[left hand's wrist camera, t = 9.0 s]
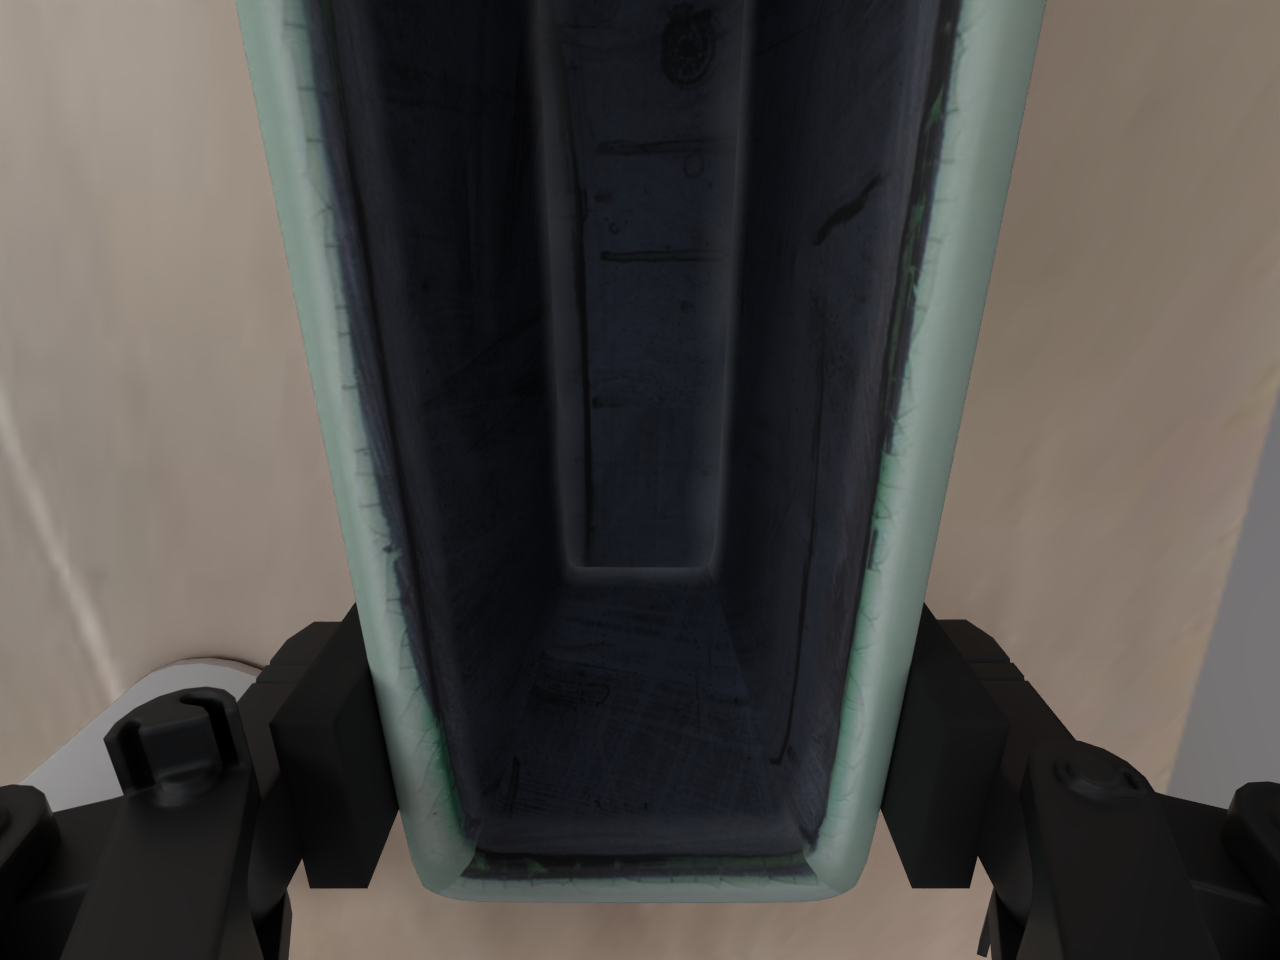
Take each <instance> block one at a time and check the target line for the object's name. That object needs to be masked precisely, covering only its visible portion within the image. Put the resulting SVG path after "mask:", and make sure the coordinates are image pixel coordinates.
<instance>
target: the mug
mask: <svg viewBox="0 0 1280 960" xmlns="http://www.w3.org/2000/svg"><path fill="white" fill-rule="evenodd" d="M261 672H262V670H260V669H257V668H254V667H251V666H248V665H245V664H243V663H240V662H237V661H230V660H223V659H216V658H199V659H186V660H180V661H177V662H174V663H171V664H168V665H165V666H162V667H159V668H156V669H155V670H153V671H152V672H150V673H149V674H147V675H146V676H145V677H143V678H142V679H140V680H139V681H138V682H137V683H136V684H135V685H134V686H132V687H131V688H130V689H129V690H128V691H126V692H125V693H124V694H123V695H122V696H121V697H119V698H118V699H117V700H116V701H115V702H114V703H112V704H111V705H110V706H109V707H108V708H107V709H105V710H104V711H103V712H102V713H101V714H100V715H98V716H97V717H96V718H95V719H94V720H93V721H91V722H90V723H89V724H88V725H87V726H86V727H84V728H83V729H82V730H81V731H80V732H79V733H77V734H76V735H75V736H74V737H73V738H72V739H70V740H69V741H68V742H67V743H66V744H65V745H64V746H62V747H61V748H60V749H59V750H58V751H57V752H55V753H54V754H53V755H52V756H51V757H50V758H48V759H47V760H46V761H45V762H44V763H43V764H41V765H40V766H39V767H38V768H37V769H36V770H34V771H33V772H32V773H31V774H30V775H29V776H27V777H26V778H25V779H24V780H23V781H22V782H20V783H19V784H18V785H30V786H34V787H35V788H37V789H38V790H40V791H42V792H43V793H44V794H45V796H46V798H47V801H48V803H49V805H50V808H51V810H52V812H57V811H61V810H65V809H70V808H74V807H78V806H83V805H87V804H91V803H95V802H100V801H104V800H108V799H113V798H116V797H119V796H123V792H122V789H121V786H120V784H119V781H118V778H117V776H116V773H115V770H114V767H113V765H112V762H111V759H110V757H109V754H108V751H107V748H106V746H105V743H104V740H103V738H104V737H105V736H106V734H107V733H108V732H109V730H110V729H111V728H112V726H113V725H114V724H115V723H116V722H117V721H118V720H120V719H121V718H122V717H124V716H125V715H126V714H128V713H129V712H130V711H132V710H133V709H134V708H136V707H138V706H140V705H142V704H144V703H146V702H148V701H150V700H152V699H154V698H156V697H158V696H161V695H165V694H168V693H171V692H175V691H178V690H182V689H187V688H196V687H206V686H207V687H213V688H219V689H225V690H226V691H227V692H229V693H230V694H231V695H233V696H234V697H235V698H236V702H237V701H238V700H239V699H240V698H241V697H242V695H243V694H244V693H245V692H246V690H247V689H248V688H249V687H250V685H251V684H252V683H256V678H257V677H258V675H259V674H260V673H261Z"/></svg>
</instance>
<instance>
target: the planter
mask: <svg viewBox="0 0 1280 960" xmlns="http://www.w3.org/2000/svg"><path fill="white" fill-rule="evenodd" d="M235 3H236V8H237V13H238V18H239V23H240V28H241V33H242V38H243V43H244V48H245V53H246V58H247V63H248V68H249V73H250V78H251V83H252V88H253V93H254V98H255V103H256V108H257V113H258V118H259V123H260V128H261V133H262V138H263V143H264V148H265V153H266V158H267V163H268V168H269V173H270V178H271V183H272V188H273V193H274V198H275V203H276V208H277V213H278V218H279V223H280V228H281V233H282V238H283V243H284V248H285V252H286V257H287V262H288V267H289V272H290V277H291V282H292V287H293V292H294V297H295V302H296V307H297V312H298V317H299V322H300V327H301V332H302V337H303V342H304V347H305V352H306V357H307V362H308V367H309V372H310V377H311V382H312V387H313V392H314V397H315V402H316V407H317V411H318V416H319V421H320V426H321V431H322V436H323V441H324V446H325V451H326V456H327V461H328V466H329V471H330V476H331V481H332V485H333V490H334V495H335V500H336V505H337V510H338V515H339V520H340V525H341V530H342V535H343V540H344V545H345V550H346V555H347V559H348V564H349V569H350V574H351V579H352V584H353V589H354V594H355V599H356V604H357V609H358V614H359V619H360V624H361V628H362V633H363V638H364V643H365V648H366V653H367V658H368V663H369V668H370V673H371V678H372V682H373V687H374V692H375V697H376V702H377V706H378V711H379V716H380V721H381V725H382V730H383V735H384V740H385V745H386V749H387V754H388V759H389V764H390V769H391V773H392V778H393V783H394V788H395V793H396V797H397V802H398V806H399V810H400V814H401V818H402V822H403V827H404V831H405V835H406V839H407V843H408V847H409V851H410V855H411V859H412V862H413V864H414V867H415V869H416V871H417V874H418V876H419V878H420V881H421V883H422V885H423V886H424V887H426V888H427V889H429V890H430V891H432V892H433V893H436V894H439V895H441V896H444V897H448V898H453V899H458V900H466V901H477V902H553V903H759V902H806V901H817V900H822V899H827V898H832V897H835V896H837V895H840V894H843V893H845V892H847V891H848V890H850V889H851V888H853V887H855V885H856V884H857V882H858V879H859V877H860V875H861V873H862V871H863V869H864V866H865V864H866V862H867V859H868V855H869V851H870V847H871V843H872V839H873V835H874V831H875V827H876V823H877V819H878V815H879V811H880V807H881V803H882V798H883V794H884V789H885V784H886V780H887V775H888V770H889V765H890V761H891V756H892V751H893V746H894V742H895V737H896V732H897V728H898V723H899V718H900V713H901V709H902V704H903V699H904V694H905V690H906V685H907V680H908V676H909V671H910V666H911V661H912V656H913V651H914V646H915V642H916V637H917V632H918V627H919V622H920V617H921V612H922V608H923V603H924V598H925V593H926V588H927V583H928V578H929V573H930V569H931V564H932V559H933V554H934V549H935V544H936V539H937V535H938V530H939V525H940V520H941V515H942V510H943V505H944V500H945V496H946V491H947V486H948V481H949V476H950V471H951V466H952V461H953V457H954V452H955V447H956V442H957V437H958V432H959V427H960V423H961V418H962V413H963V408H964V403H965V398H966V393H967V388H968V384H969V379H970V374H971V369H972V364H973V359H974V354H975V349H976V344H977V340H978V335H979V330H980V325H981V320H982V315H983V310H984V305H985V300H986V295H987V290H988V285H989V280H990V276H991V271H992V266H993V261H994V256H995V251H996V246H997V241H998V236H999V231H1000V226H1001V221H1002V217H1003V212H1004V207H1005V202H1006V197H1007V192H1008V187H1009V182H1010V177H1011V172H1012V167H1013V162H1014V158H1015V153H1016V148H1017V143H1018V138H1019V133H1020V128H1021V123H1022V118H1023V113H1024V108H1025V103H1026V99H1027V94H1028V89H1029V84H1030V79H1031V74H1032V69H1033V64H1034V59H1035V54H1036V49H1037V44H1038V40H1039V35H1040V30H1041V25H1042V20H1043V15H1044V10H1045V5H1046V0H235Z"/></svg>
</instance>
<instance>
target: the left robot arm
mask: <svg viewBox="0 0 1280 960" xmlns="http://www.w3.org/2000/svg"><path fill="white" fill-rule="evenodd" d="M103 740H104V743H105V746H106V748H107V751H108V754H109V757H110V759H111V762H112V765H113V767H114V770H115V773H116V776H117V778H118V781H119V784H120V786H121V789H122V792H123V796H119V797H116V798H113V799H108V800H104V801H100V802H95V803H91V804H87V805H83V806H78V807H74V808H70V809H65V810H61V811H57V812H52V810H51V808H50V805H49V803H48V801H47V798H46V796H45V794H44V793H43V792H42V791H40V790H38V789H37V788H35V787H34V786H30V785H7V786H2V787H0V960H288V958H289V946H290V935H291V923H292V910H291V904H290V899H289V895H288V891H287V887H288V885H289V883H290V881H291V879H292V877H293V875H294V873H295V871H296V869H297V867H298V865H299V863H300V861H301V860H302V858H303V862H304V866H305V870H306V874H307V878H308V882H309V886H310V888H368V886H369V883H370V881H371V878H372V876H373V873H374V870H375V868H376V865H377V863H378V860H379V858H380V855H381V853H382V850H383V848H384V845H385V843H386V840H387V838H388V835H389V833H390V830H391V828H392V825H393V823H394V820H395V818H396V815H397V813H398V810H399V806H398V802H397V797H396V793H395V788H394V783H393V778H392V773H391V769H390V764H389V759H388V754H387V749H386V745H385V740H384V735H383V730H382V725H381V721H380V716H379V711H378V706H377V702H376V697H375V692H374V687H373V682H372V678H371V673H370V668H369V663H368V658H367V653H366V648H365V643H364V638H363V633H362V628H361V624H360V619H359V614H358V609H357V604H356V602H355V604H354V605H353V606H352V608H351V609H350V611H349V612H348V613H347V615H346V616H345V618H344V619H343V620H342V622H313V623H312V624H310V625H309V626H307V627H306V628H304V629H303V630H301V631H300V632H298V633H297V634H295V635H294V636H292V637H291V638H289V639H288V640H287V641H286V642H285V643H284V644H283V646H282V647H281V648H280V649H279V651H278V652H277V653H276V654H275V656H274V657H273V658H272V659H271V661H270V665H267V666H266V667H265V668H264V669H263V671H262V672H261V673H260V674H259V675H258V677H257V678H256V683H252V684H251V685H250V687H249V688H248V689H247V690H246V692H245V693H244V694H243V695H242V697H241V698H240V699H239V700H238V701H237V702H236V698H235V697H234V696H233V695H231V694H230V693H229V692H227V691H226V690H225V689H219V688H213V687H207V686H206V687H196V688H187V689H182V690H178V691H175V692H171V693H168V694H165V695H161V696H158V697H156V698H154V699H152V700H150V701H148V702H146V703H144V704H142V705H140V706H138V707H136V708H134V709H133V710H132V711H130V712H129V713H128V714H126V715H125V716H124V717H122V718H121V719H120V720H118V721H117V722H116V723H115V724H114V725H113V726H112V728H111V729H110V730H109V732H108V733H107V734H106V736H105V737H104V738H103ZM880 809H881V811H882V814H883V816H884V819H885V821H886V824H887V826H888V829H889V831H890V834H891V836H892V839H893V841H894V844H895V846H896V849H897V851H898V854H899V856H900V859H901V861H902V864H903V867H904V869H905V872H906V874H907V877H908V879H909V882H910V884H911V887H912V888H970V884H971V880H972V876H973V872H974V868H975V864H976V860H977V857H979V859H980V861H981V863H982V865H983V867H984V869H985V870H986V872H987V874H988V876H989V878H990V880H991V882H992V884H993V886H994V887H993V891H992V895H991V899H990V902H989V906H988V910H987V913H986V917H985V921H984V925H983V928H982V932H981V936H980V940H979V945H978V951H977V955H980V956H983V957H987V953H988V950H989V946H990V944H991V956H992V960H1280V784H1278V783H1274V782H1251V783H1247V784H1245V785H1244V786H1242V787H1241V788H1239V789H1238V790H1236V792H1235V794H1234V797H1233V799H1232V802H1231V804H1230V806H1229V809H1228V810H1227V809H1223V808H1219V807H1214V806H1210V805H1206V804H1201V803H1197V802H1193V801H1188V800H1184V799H1179V798H1175V797H1171V796H1167V795H1164V794H1160V793H1157V792H1155V791H1154V790H1153V788H1152V787H1151V785H1150V784H1149V782H1148V781H1147V779H1146V778H1145V777H1144V776H1143V775H1142V774H1141V773H1140V772H1139V771H1137V770H1136V769H1135V768H1134V767H1133V766H1131V765H1130V764H1129V763H1128V762H1127V761H1125V760H1123V759H1121V758H1120V757H1118V756H1116V755H1114V754H1112V753H1110V752H1109V751H1107V750H1105V749H1103V748H1100V747H1097V746H1094V745H1091V744H1088V743H1085V742H1082V741H1076V740H1075V738H1074V737H1073V736H1072V735H1071V733H1070V732H1069V731H1068V730H1067V728H1066V727H1065V726H1064V725H1063V724H1062V722H1061V721H1060V720H1059V719H1058V717H1057V716H1056V715H1055V714H1054V712H1053V711H1052V710H1051V709H1050V708H1049V706H1048V705H1047V704H1046V703H1045V701H1044V700H1043V699H1042V698H1041V696H1040V695H1039V694H1038V693H1037V691H1036V690H1035V689H1034V688H1033V687H1032V685H1031V684H1030V683H1029V682H1028V681H1025V680H1024V675H1023V674H1022V673H1021V672H1020V671H1019V669H1018V668H1017V667H1016V666H1015V664H1014V663H1010V658H1009V657H1008V656H1007V655H1006V653H1005V652H1004V651H1003V650H1002V648H1001V647H1000V646H999V645H998V643H997V642H996V641H995V640H994V639H993V637H991V636H990V635H988V634H987V633H985V632H984V631H982V630H981V629H979V628H978V627H976V626H975V625H973V624H972V623H970V622H969V621H967V620H936V618H935V617H934V615H933V614H932V613H931V611H930V610H929V608H928V607H927V606H926V604H925V603H923V608H922V612H921V617H920V622H919V627H918V632H917V637H916V642H915V646H914V651H913V656H912V661H911V666H910V671H909V676H908V680H907V685H906V690H905V694H904V699H903V704H902V709H901V713H900V718H899V723H898V728H897V732H896V737H895V742H894V746H893V751H892V756H891V761H890V765H889V770H888V775H887V780H886V784H885V789H884V794H883V798H882V803H881V807H880Z"/></svg>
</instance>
